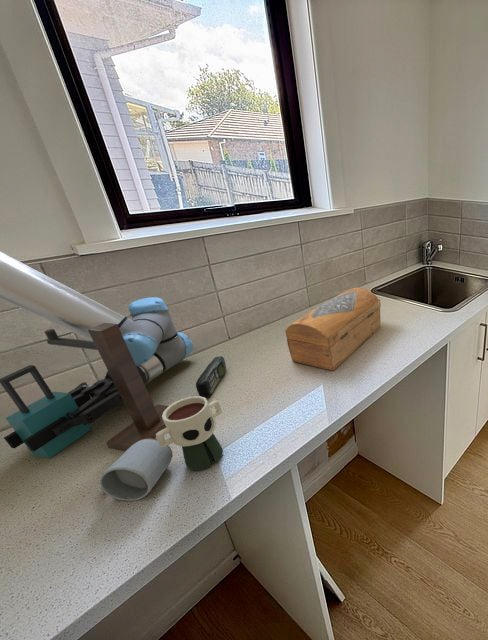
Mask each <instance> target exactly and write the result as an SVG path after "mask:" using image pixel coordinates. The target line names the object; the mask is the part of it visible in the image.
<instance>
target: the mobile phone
mask: <svg viewBox="0 0 488 640" xmlns="http://www.w3.org/2000/svg"><path fill="white" fill-rule="evenodd" d="M226 370H227V364H226V361H225V358H224V356H215V357H214V358H213V359H212V360H211V361H210V362H209V363H208V365H207V366H206V367H205V369H204V370H203V371H202V373H201V374H200V376H199V377H198V379H197V380H196V382H195V387H196V391H197V393H198V396H201V397H204V398H206V399H209V398H210V397H211V396H212V394H213V393H214V391H215V390H216V388H217V386H218V384H219V383H220V381H221V380H222V379H223V378H224V376H225V374H226Z"/></svg>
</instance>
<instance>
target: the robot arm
mask: <svg viewBox="0 0 488 640" xmlns="http://www.w3.org/2000/svg"><path fill="white" fill-rule="evenodd" d="M0 300H1V301H4V302H6V303H8V304H10V305H13V306H15V307H16V308H19V309H21V310H23V311H25V312H28V313H30V314H32V315H34V316H36V317H39V318H41V319H43V320H45V321H47V322H50V323H52V324H55V325H56V326H59V327H60V328H62V329H65V330H67V331H69V332H72V333H74V334H76V335H78V336H80V337H82V338H84V339H87V340H88V341H93V339H92V337H91V335H90V333H89V331H88V329H91V328H93V327H95V326H98V325H100V324H103V323H112V324H117V325H118V327H119V329H120V331H121V333H122V336H123V338H124V340H125V342H126V345H127V347H128V349H129V351H130V353H131V356H132V358H133V360H134V362H135V365H136V367H137V369H138V371H139V373H140V376H141V378H142V380H143V382H144V385H145V386H146V384H148V383H150V382H152V381H153V380H154V379H156V378H157V377H158V376H160V375H162V374H163V373H164V372H166V371H167V370H169V369H171V368H172V367H174V366H175V365H177V364H179V363H181V362H182V361H183V360H184V359H186V358H187V357H189V355H190V354H192V353H193V350H194V344H193V343H194V342H193V341H192V340H191V339H189V336H188V335H186V334H185V333H183V332H181V331H180V332H179V331H177V329H176V327H175V324H174V322H173V319H172V317H171V314H170V310H169V308H168V307H167V305H166V303H165V300H164V299H163V298H161V297H158V296H157V297H156V296H154V297H152V296H151V297H143V298H140V299H137V300H135V301H132V302H131V303H129V305H128V306H127V307H128V312H129V316H130V317H131V318H129V317H127V316H124V314H123V315H122V314H121V313H118V312H117V311H115V310H113V309H111V308H109V307H108V306H106V305H104V304H101V303H100V302H98V301H96V300H94V299H92V298H90V297H88V296H87V295H85V294H83V293H81V292H79V291H77V290H75V289H73V288H71V287H69V286H67V285H65V284H64V283H62V282H60V281H57V280H56V279H54V278H52V277H50V276H49V275H46V274H44V273H42V272H40V271H39V270H37V269H35V268H33V267H31V266H29V265H27V264H25V263H23V262H21V261H19V260H18V259H16V258H14V257H12V256H10V255H8V254H6V253H4V252H2V251H1V250H0ZM176 336H177V337H176ZM175 337H176V338H175ZM67 393H70V395H71V396H72V398H73V400H74V401H75V403H76V404H77V406H78V409H77V410H75V411H74V412H71V413H66V415H67V416H68V419H67V418H66V417H61V418H59V419H58V420H56V421H54V422H53V423H51V424H50V425H48V426H46V427H45V428H43V429H41V430H40V431H38V432H37V433H35V434H33V435H32V436H30V437H28V438H27V439H25V440H24V442H25V443H26V445H27V446H28V447H29V449H30V450H31V451H36V450H37V449H39V448H40V447H42V446H44V445H45V444H47V443H48V442H50V441H51V440H53V439H54V438H56V437H57V436H59V435H61V434H62V433H64V432H65V431H67V430H68V429H70V428H71V427H73V426H78V425H80V424H82V423H83V424H84V425H88V424H89V425H90V424H92V423H93V422H95V421H96V420H98V419H99V418H101V417H103V416H104V415H105V414H107V413H109V412H110V411H112V410H113V409H114V408H116V407H118V406H119V405H120V404H122V403H124V402H123V400H122V398H121V396H120V394H119V392H118V390H117V388H116V386H115V384H114V382H113V380H112V378H111V376H110V374H109V372H108V370H106V373H105V377H104V378H102V379H100V380H98V381H96V382H94V383H91V384H88V383H87V382H85V381H84V382H81V383H80V384H78V385H77V386H76V387H75V388H73V389H71V390H70V391H68V392H67ZM3 440H5V442H6V443H7V444H8V446H9V447H10V448H11V449H16V448H18V447H19V446H21V445H23V444H25V443H24V442H23V441H22V439H21V438H20V437H19V435H18V434H17V433H16V431H15V430H14V431H13V432H10V433H9V434H7V435H5V436H3ZM26 445H25V446H26ZM27 446H26V447H27ZM28 447H27V448H28ZM29 449H28V450H29ZM30 450H29V451H30ZM31 451H30V452H31Z"/></svg>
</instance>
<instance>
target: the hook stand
mask: <svg viewBox="0 0 488 640" xmlns="http://www.w3.org/2000/svg"><path fill="white" fill-rule="evenodd" d="M88 331H89V333H90V335H91V337H92V339H93V341H91V340H88V339H87V340H86V339H77V338H76V339H75V338H68V337H67V338H66V337H59V335H58V333H57V332H56V330H55V329H54V328H50V329H46V330H45V331H44V332H43V333H44V334H45V337H46V338H47V339H46V343H47V344H48V345H50V346H58V347H66V348H74V349H75V348H76V349H85V350H93V351H94V350H95V351H97V352H98V354H99V356H100V358H101V360H102V361H103V364H104V366H105V367H106V369H107V370H106V371H108V372H109V374H110V376H111V378H112V380H113V382H114V384H115V386H116V388H117V390H118V392H119V394H120V396H121V398H122V400H123V402H122V403H123V404H124V406H125V408H126V409H127V412H128V414H129V416H130V418H131V420H132V423H130V424H129V425H128V426H126V427H125V428H123V429H122V430H121V431H120V432H118V433H116V434H115V435H114V436H113V437H111V438H110V439H109V440H107V441H106V442H105V444H106V447H108V448H109V449H112V450H120V451H124V452H125V451H126V450H127V449H129V448H130V447H131V446H132V445H134V444H135V443H136V442H138V441H140V440H143V439H156V434H157V433H158V432H159V431H161V430H163V429H164V428H166V425H165V423H164V421H163V419H162V415H163V412H164V411H165V410H166V409H167V407H168V406H169V405H165V404H158V403H157V404H156V405H155V404H154V403H153V400H152V398H151V396H150V394H149V391H148V389H147V387H146V384H145V385H144V382H143V380H142V378H141V376H140V373H139V371H138V369H137V367H136V365H135V362H134V360H133V358H132V356H131V353H130V351H129V349H128V347H127V345H126V342H125V340H124V338H123V336H122V333H121V331H120V329H119V327H118V325H117V324H112V323H103V324H100V325H98V326H95V327H93V328H91V329H88Z"/></svg>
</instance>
